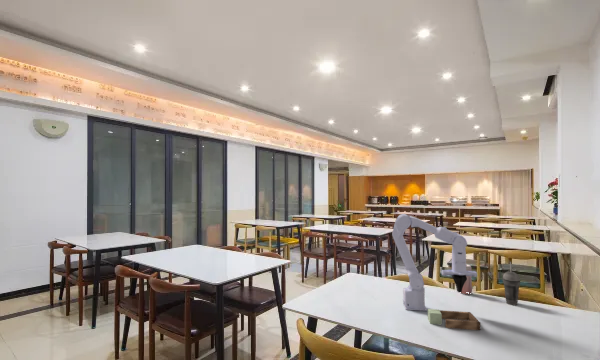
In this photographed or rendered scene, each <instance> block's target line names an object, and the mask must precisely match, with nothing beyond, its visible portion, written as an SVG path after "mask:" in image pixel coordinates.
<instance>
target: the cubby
mask: <svg viewBox="0 0 600 360" xmlns="http://www.w3.org/2000/svg"><path fill="white" fill-rule="evenodd" d="M439 310H440V312H441V314H442V320H443V319H444V320H445V323H444V325H445V328H446V329H456V330H459V329H460V330H471V331H472V330H473V331H481V321H479V319H477V318H476V317H475V316H474V314H473V313H472V312H470V311H456V310H441V309H439Z"/></svg>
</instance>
